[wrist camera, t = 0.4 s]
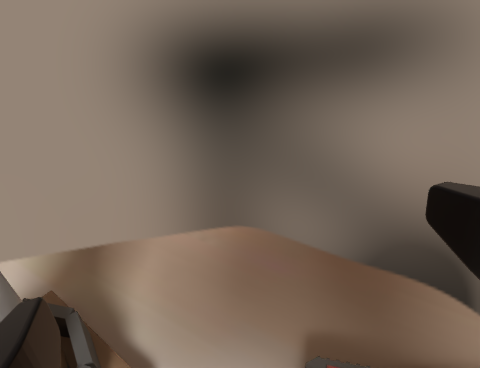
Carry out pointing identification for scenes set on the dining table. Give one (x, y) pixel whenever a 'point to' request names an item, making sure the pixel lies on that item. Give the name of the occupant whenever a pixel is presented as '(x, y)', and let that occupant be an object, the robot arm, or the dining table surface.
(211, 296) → the dining table surface
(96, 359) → the grey octagonal ring
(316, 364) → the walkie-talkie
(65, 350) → the walnut board
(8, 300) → the two-tone cylinder
